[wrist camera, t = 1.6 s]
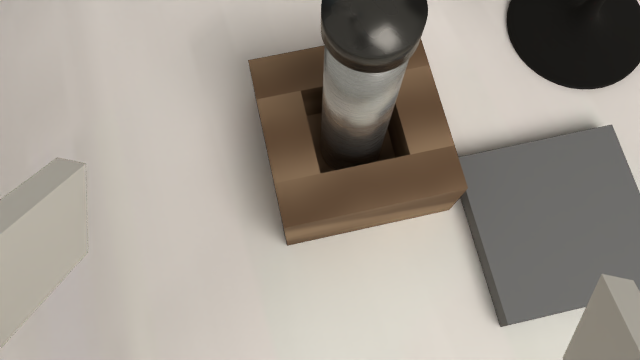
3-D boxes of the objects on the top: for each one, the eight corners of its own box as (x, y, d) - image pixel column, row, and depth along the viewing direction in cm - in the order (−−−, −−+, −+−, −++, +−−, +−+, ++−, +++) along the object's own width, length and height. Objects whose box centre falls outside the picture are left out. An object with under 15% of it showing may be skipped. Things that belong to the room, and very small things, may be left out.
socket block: (255, 95, 42) (248, 60, 37) (405, 65, 43) (417, 27, 38) (287, 245, 39) (284, 228, 34) (449, 209, 39) (468, 188, 35)
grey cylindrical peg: (311, 122, 40) (311, -28, 25) (373, 109, 41) (411, -47, 25) (325, 183, 39) (335, 63, 24) (390, 169, 39) (440, 43, 24)
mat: (450, 165, 40) (455, 157, 39) (601, 132, 41) (611, 124, 40) (500, 326, 37) (508, 325, 36) (663, 288, 38) (677, 285, 37)
